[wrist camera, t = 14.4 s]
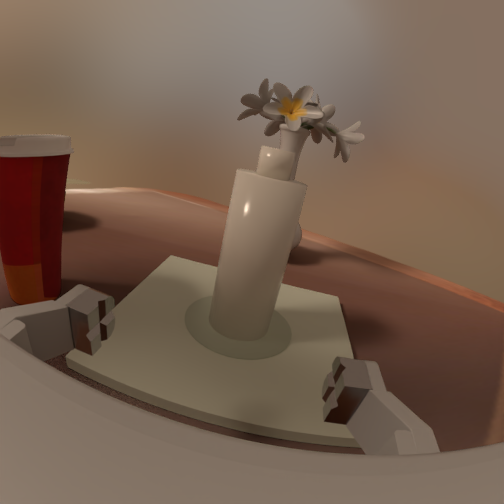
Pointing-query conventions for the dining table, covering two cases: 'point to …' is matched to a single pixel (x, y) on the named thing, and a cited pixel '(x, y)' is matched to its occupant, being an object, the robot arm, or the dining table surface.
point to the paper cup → (32, 214)
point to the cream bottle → (256, 246)
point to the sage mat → (223, 357)
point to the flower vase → (298, 123)
